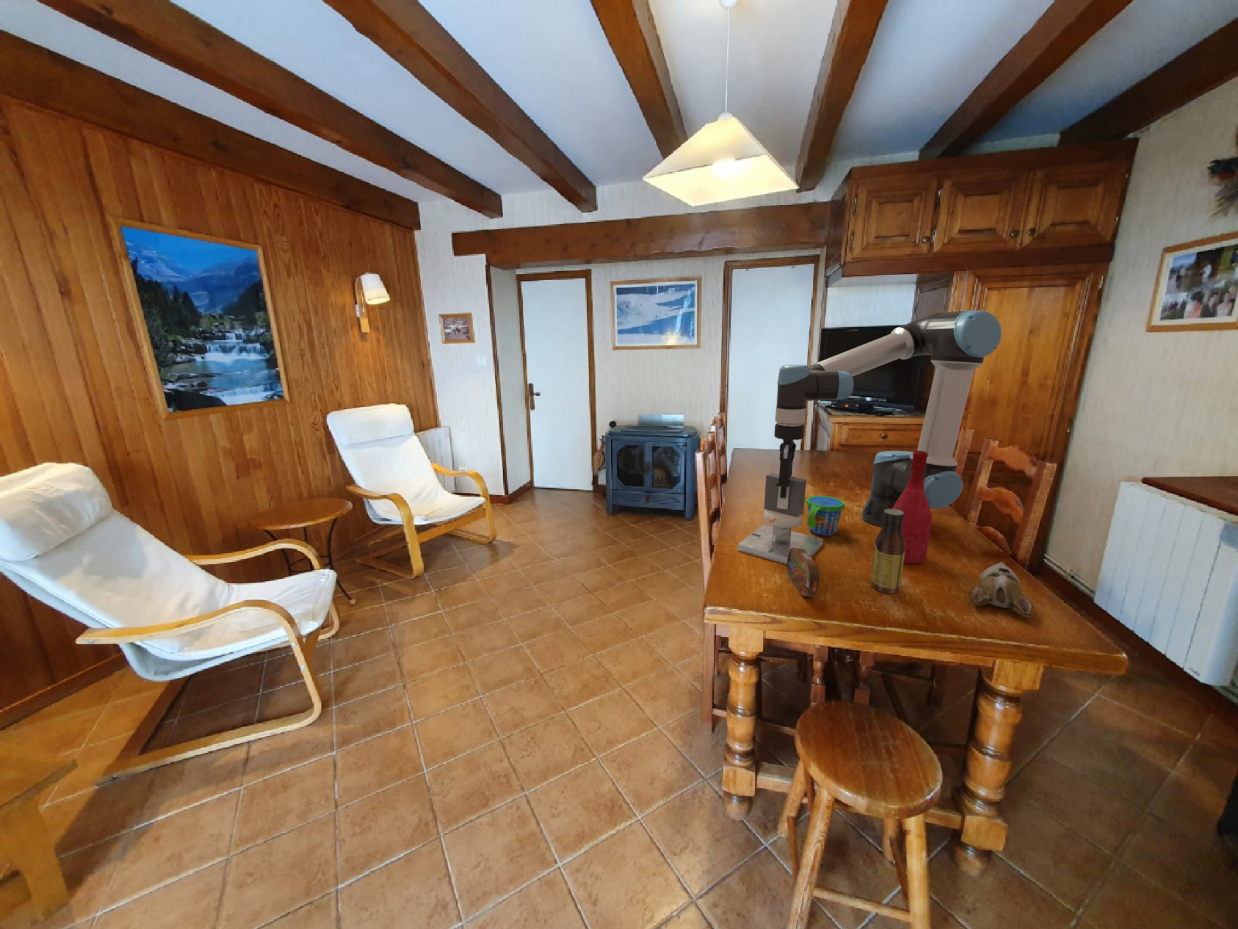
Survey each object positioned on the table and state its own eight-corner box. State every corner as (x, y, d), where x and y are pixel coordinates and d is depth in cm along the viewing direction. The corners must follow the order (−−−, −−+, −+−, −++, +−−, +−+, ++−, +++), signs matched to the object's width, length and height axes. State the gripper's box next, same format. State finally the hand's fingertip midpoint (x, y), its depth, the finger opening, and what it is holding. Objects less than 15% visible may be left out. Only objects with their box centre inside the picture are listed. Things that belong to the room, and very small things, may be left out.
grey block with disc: (774, 512, 139) (777, 470, 136) (807, 520, 132) (811, 476, 129) (753, 523, 131) (755, 479, 127) (787, 533, 124) (790, 487, 120)
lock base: (822, 545, 136) (825, 519, 134) (801, 568, 122) (804, 540, 120) (763, 530, 147) (764, 506, 145) (737, 550, 133) (739, 524, 131)
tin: (785, 571, 121) (787, 541, 119) (797, 571, 121) (800, 541, 119) (805, 603, 107) (809, 570, 104) (819, 603, 106) (823, 570, 104)
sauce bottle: (883, 579, 116) (894, 504, 111) (906, 592, 110) (918, 513, 105) (863, 584, 114) (873, 508, 109) (884, 597, 108) (896, 517, 103)
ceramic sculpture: (1033, 561, 105) (1039, 593, 94) (1025, 594, 108) (1031, 629, 97) (974, 550, 112) (974, 579, 100) (968, 581, 114) (967, 613, 103)
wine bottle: (890, 546, 134) (904, 445, 126) (930, 557, 127) (948, 450, 119) (878, 558, 127) (893, 451, 119) (920, 569, 120) (938, 457, 113)
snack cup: (822, 520, 153) (825, 491, 151) (852, 531, 145) (856, 500, 142) (791, 532, 145) (794, 501, 142) (822, 543, 137) (825, 511, 134)
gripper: (802, 430, 116) (794, 517, 122) (806, 418, 131) (799, 496, 138) (771, 428, 119) (765, 514, 125) (778, 417, 134) (773, 493, 141)
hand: (783, 504), depth 131 cm, fingers closed on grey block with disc, 5 cm apart
